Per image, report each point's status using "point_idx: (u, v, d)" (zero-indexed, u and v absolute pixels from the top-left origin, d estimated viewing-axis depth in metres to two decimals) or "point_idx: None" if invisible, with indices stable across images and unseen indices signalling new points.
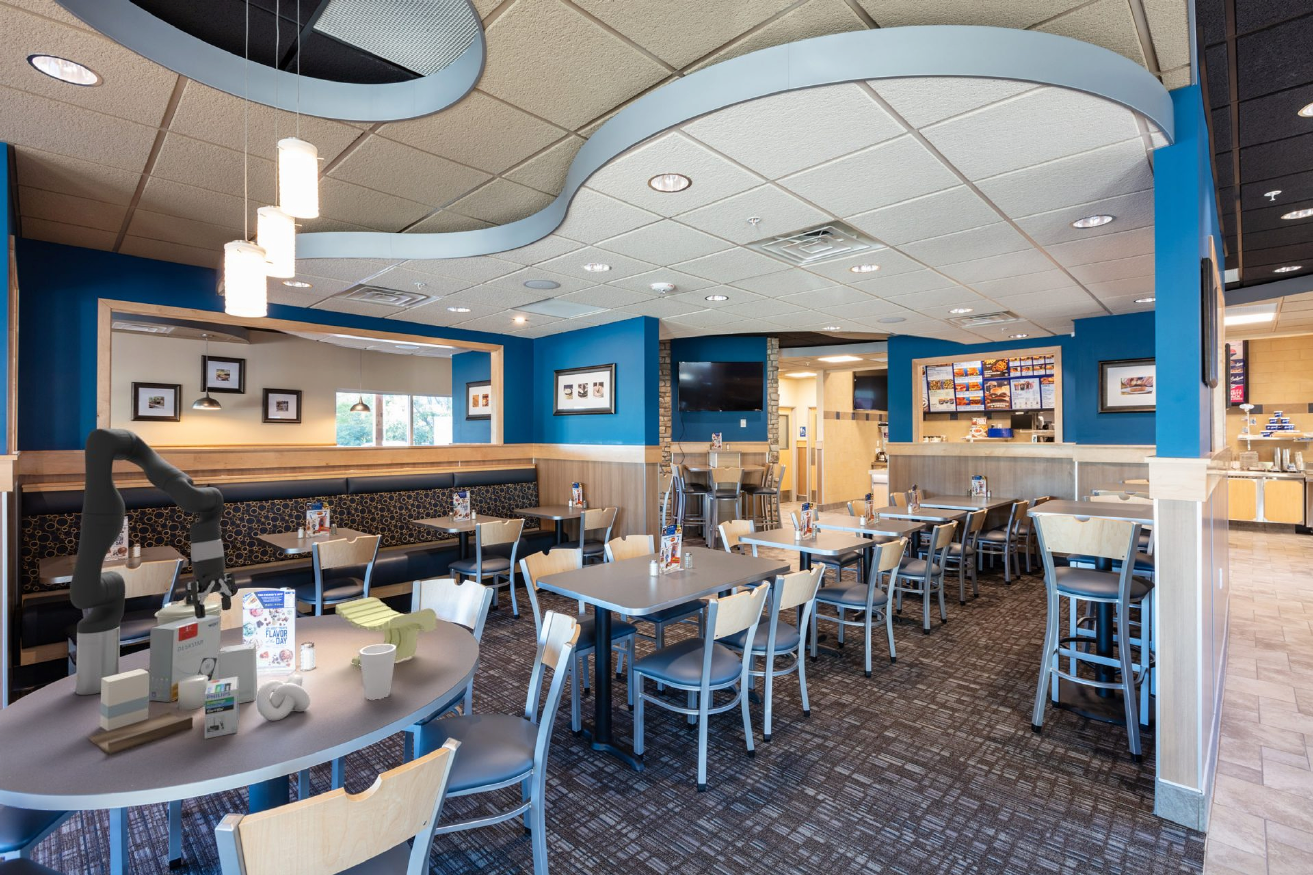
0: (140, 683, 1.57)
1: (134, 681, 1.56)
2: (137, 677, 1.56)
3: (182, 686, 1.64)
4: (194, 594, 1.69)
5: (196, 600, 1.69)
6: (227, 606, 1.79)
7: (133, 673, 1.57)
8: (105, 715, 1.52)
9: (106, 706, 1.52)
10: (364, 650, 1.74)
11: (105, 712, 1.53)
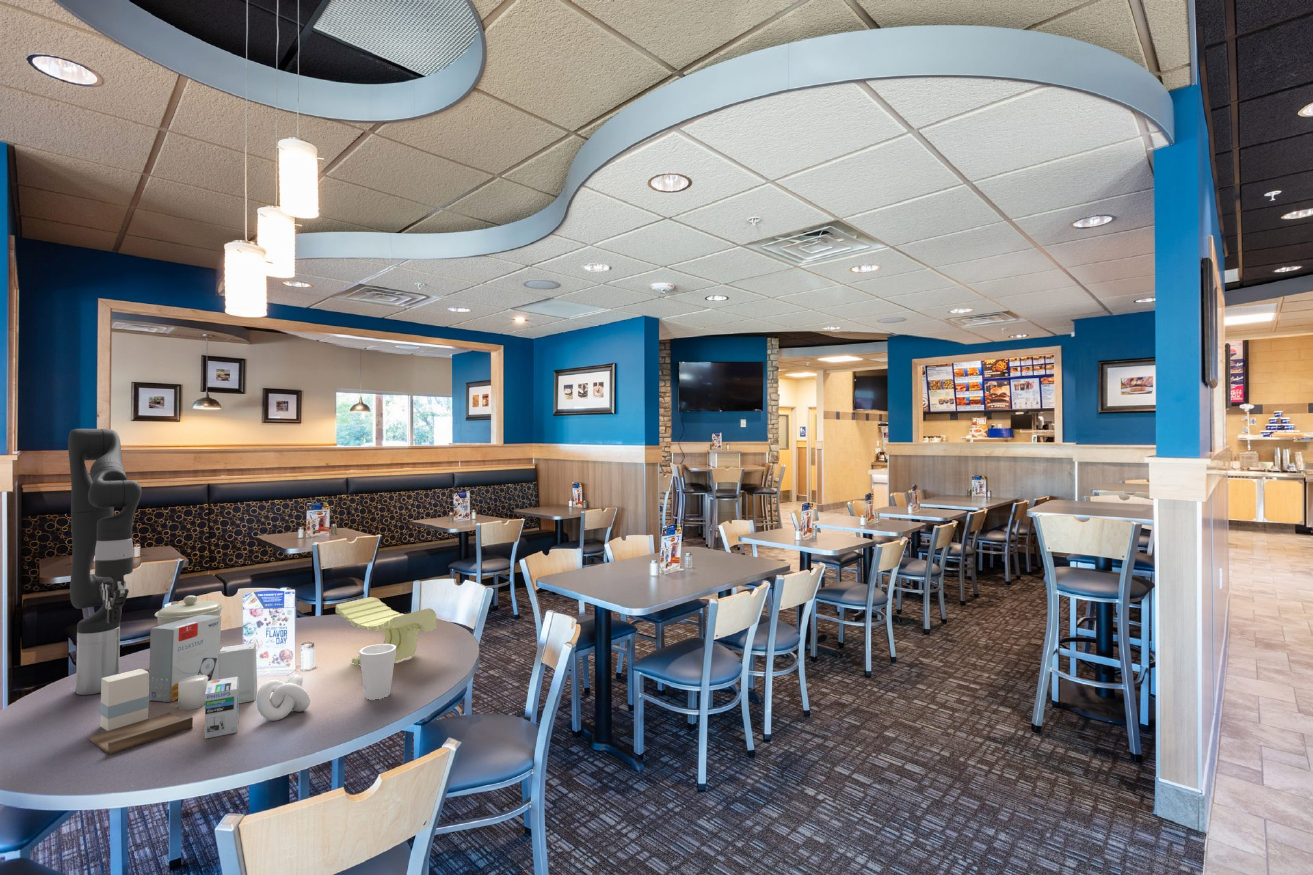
0: (140, 683, 1.57)
1: (134, 681, 1.56)
2: (137, 677, 1.56)
3: (182, 686, 1.64)
4: (102, 597, 1.63)
5: (104, 602, 1.62)
6: None
7: (133, 673, 1.57)
8: (105, 715, 1.52)
9: (106, 706, 1.52)
10: (364, 650, 1.74)
11: (105, 712, 1.53)
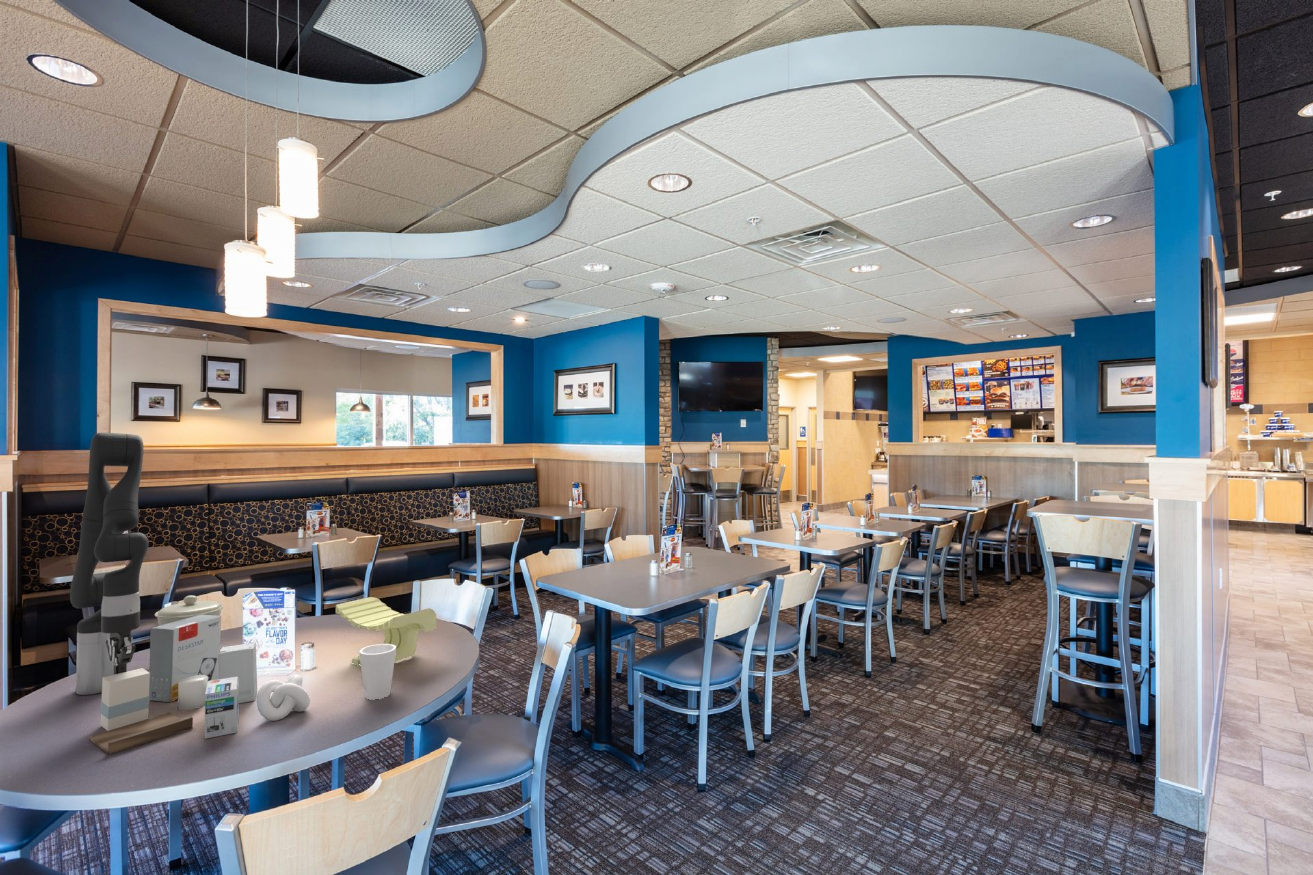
0: (141, 684, 1.57)
1: (135, 681, 1.56)
2: (138, 677, 1.56)
3: (182, 686, 1.64)
4: (108, 652, 1.60)
5: (110, 658, 1.59)
6: None
7: (134, 673, 1.57)
8: (105, 715, 1.52)
9: (107, 706, 1.52)
10: (364, 650, 1.74)
11: (105, 712, 1.52)
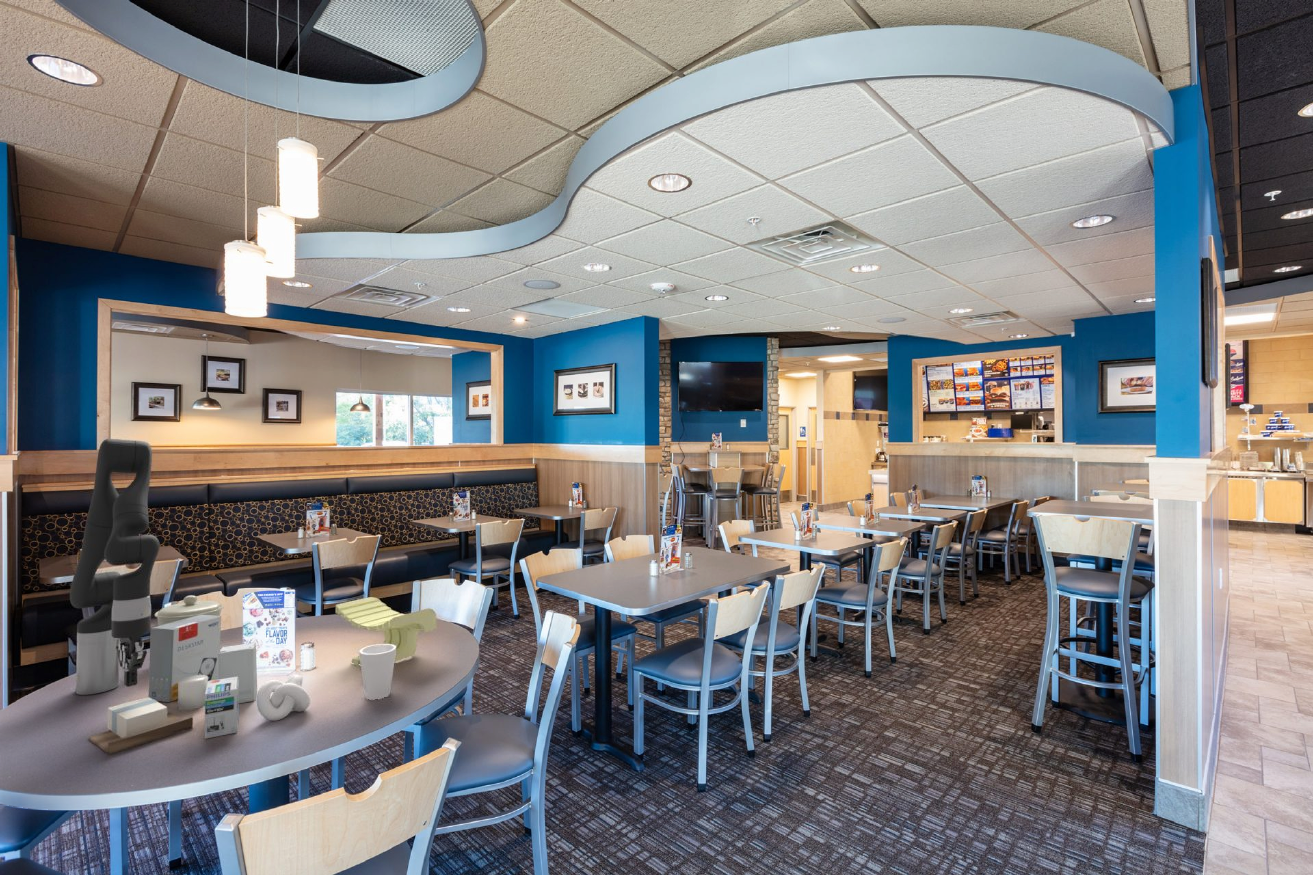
0: None
1: None
2: None
3: (182, 686, 1.64)
4: (118, 657, 1.56)
5: (121, 663, 1.55)
6: None
7: (154, 723, 1.50)
8: (112, 725, 1.50)
9: (116, 730, 1.48)
10: (364, 650, 1.74)
11: (113, 724, 1.49)
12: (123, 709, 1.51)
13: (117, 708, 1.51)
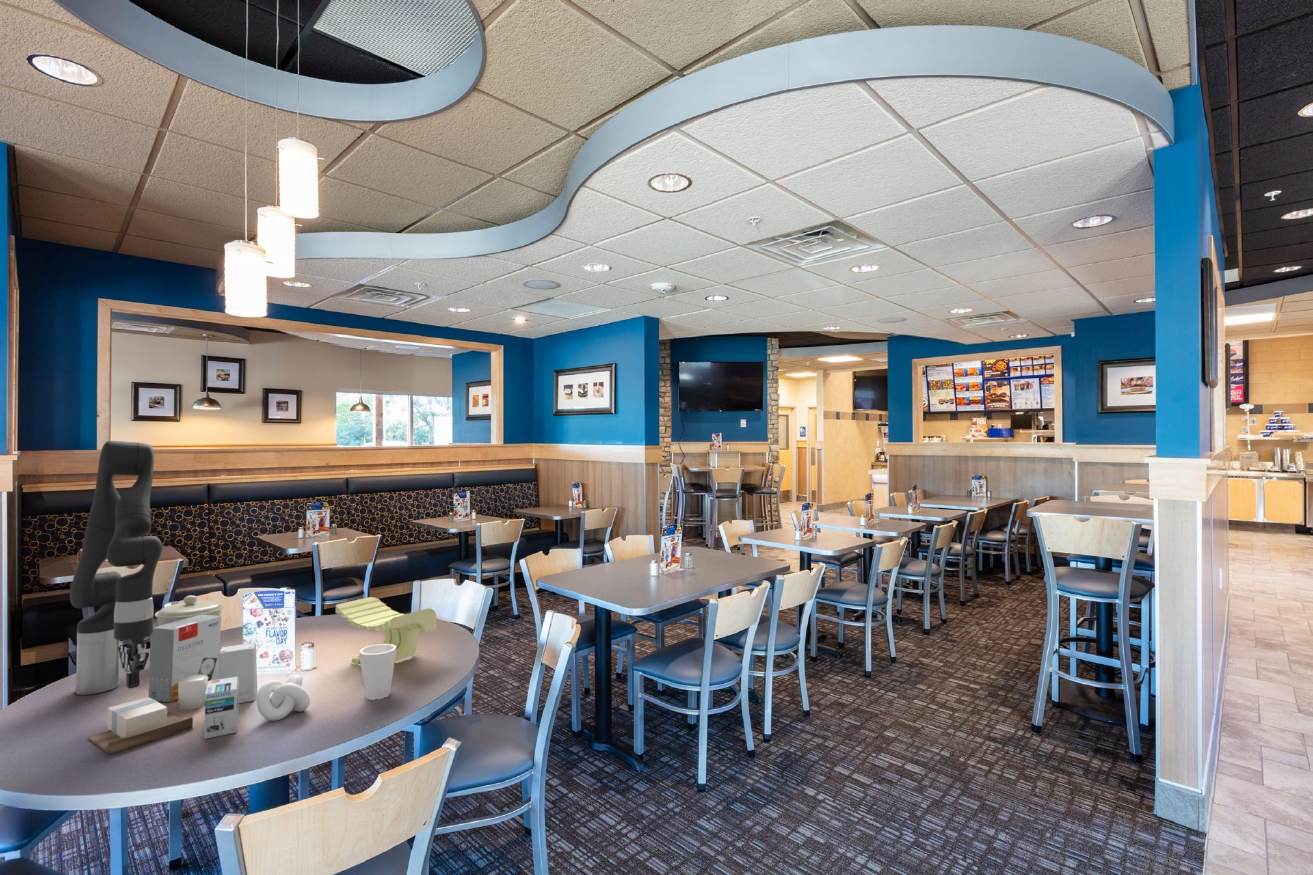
0: None
1: None
2: None
3: (182, 686, 1.64)
4: (121, 659, 1.55)
5: (123, 665, 1.54)
6: None
7: (154, 723, 1.50)
8: (112, 725, 1.50)
9: (116, 730, 1.48)
10: (364, 650, 1.74)
11: (113, 724, 1.49)
12: (123, 709, 1.51)
13: (117, 708, 1.51)
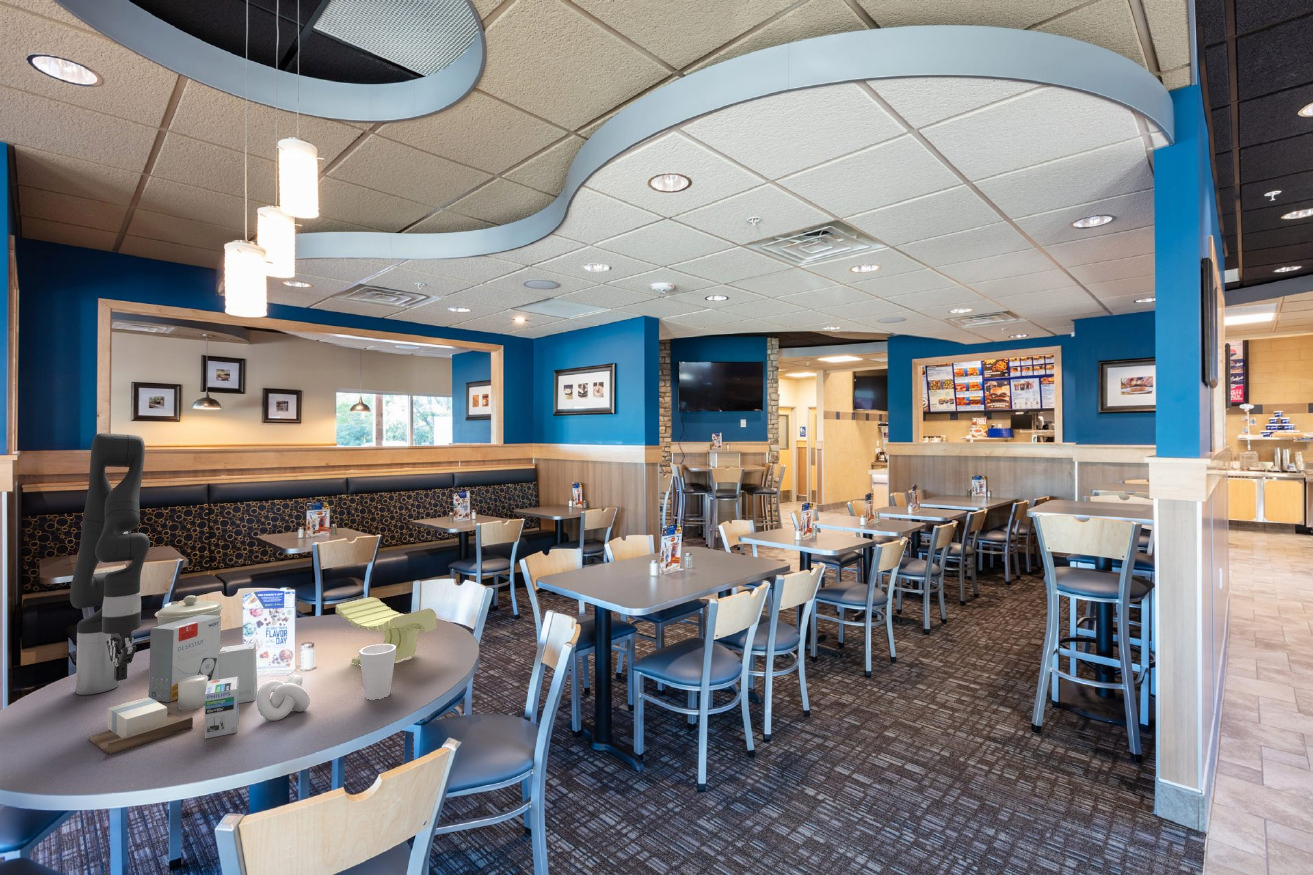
0: None
1: None
2: None
3: (182, 686, 1.64)
4: (109, 652, 1.59)
5: (111, 658, 1.58)
6: None
7: (154, 723, 1.50)
8: (112, 725, 1.50)
9: (116, 730, 1.48)
10: (364, 650, 1.74)
11: (113, 724, 1.49)
12: (123, 709, 1.51)
13: (117, 708, 1.51)
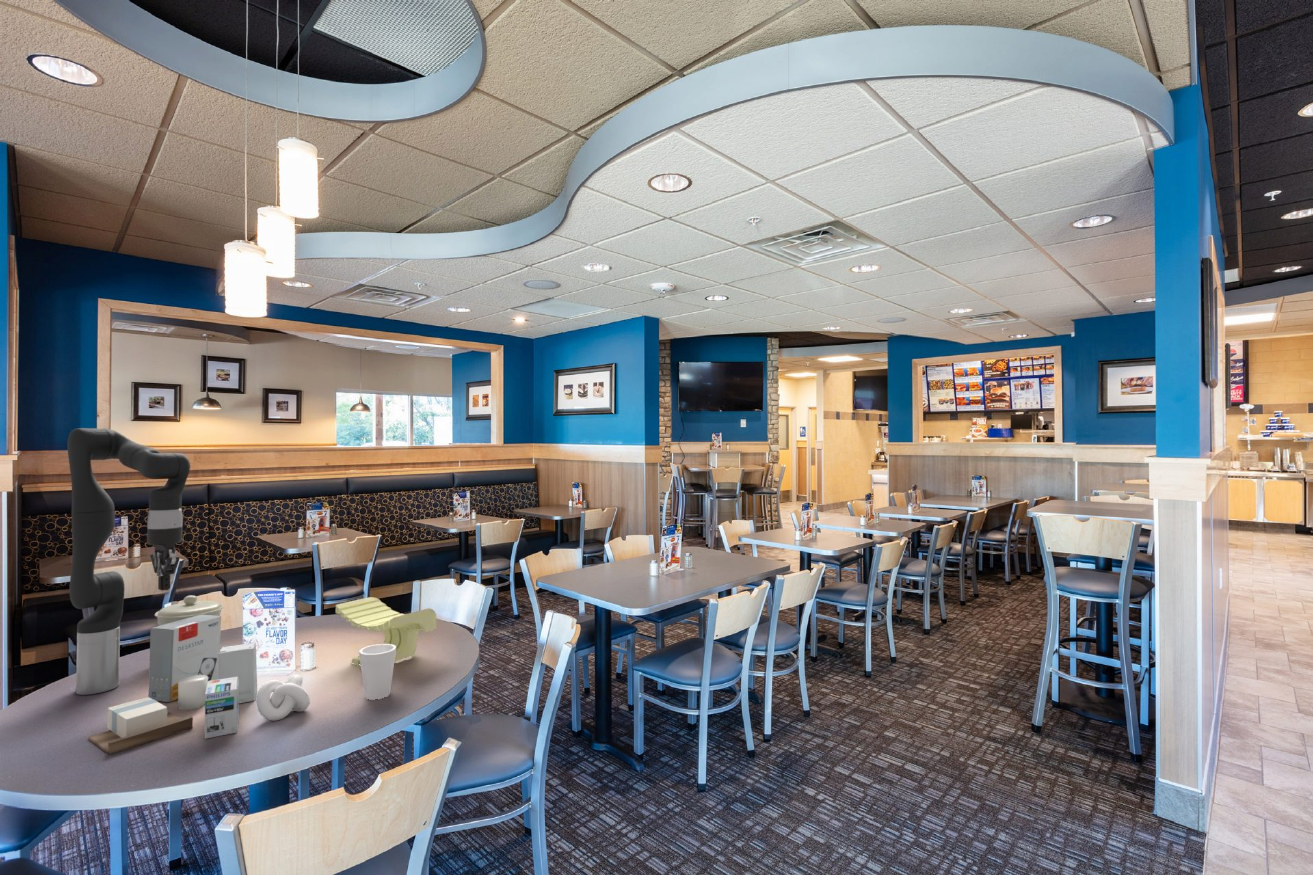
0: None
1: None
2: None
3: (182, 686, 1.64)
4: (153, 565, 1.70)
5: (155, 569, 1.69)
6: None
7: (154, 723, 1.50)
8: (112, 725, 1.50)
9: (116, 730, 1.48)
10: (364, 650, 1.74)
11: (113, 724, 1.49)
12: (123, 709, 1.51)
13: (117, 708, 1.51)
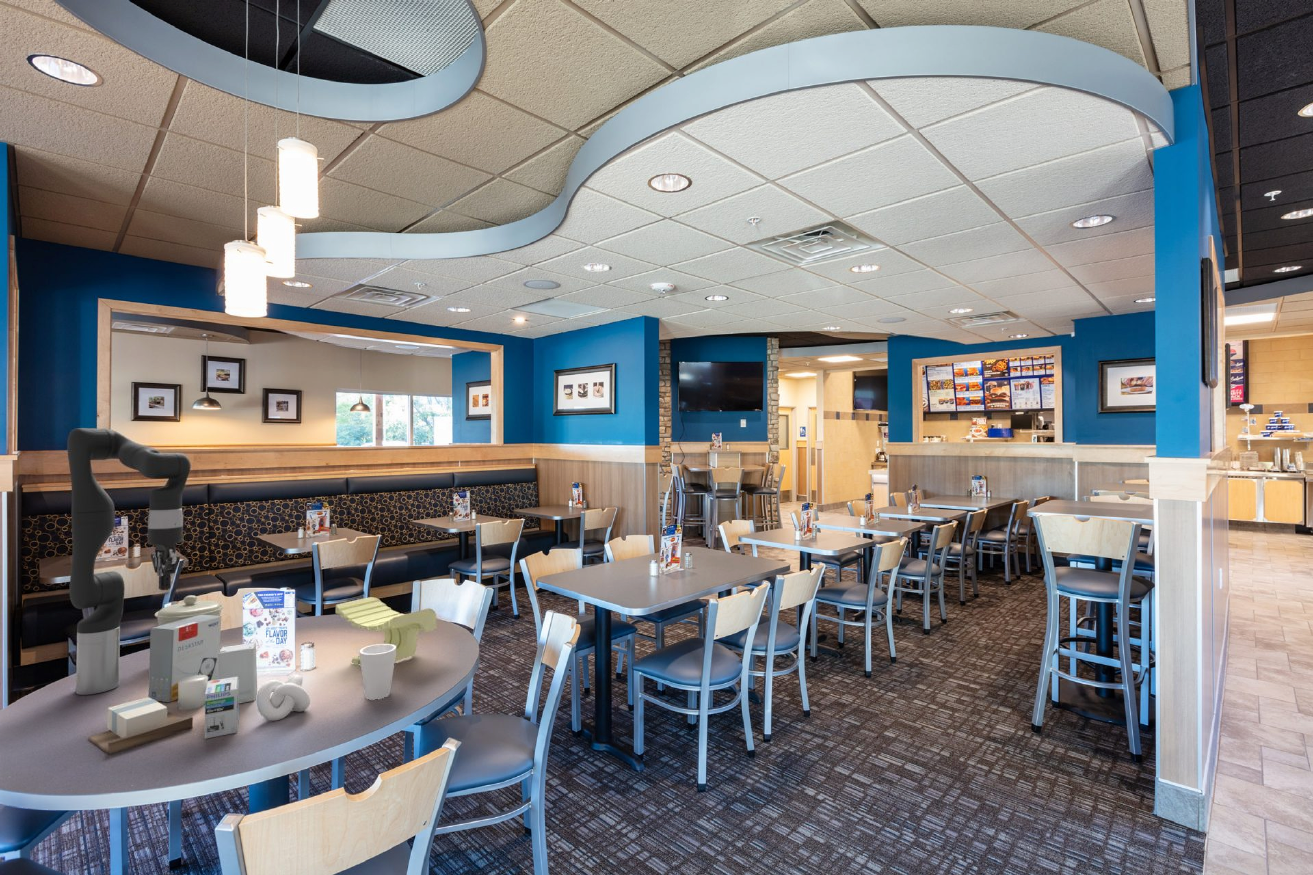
0: None
1: None
2: None
3: (182, 686, 1.64)
4: (153, 565, 1.70)
5: (155, 569, 1.69)
6: None
7: (154, 723, 1.50)
8: (112, 725, 1.50)
9: (116, 730, 1.48)
10: (364, 650, 1.74)
11: (113, 724, 1.49)
12: (123, 709, 1.51)
13: (117, 708, 1.51)
